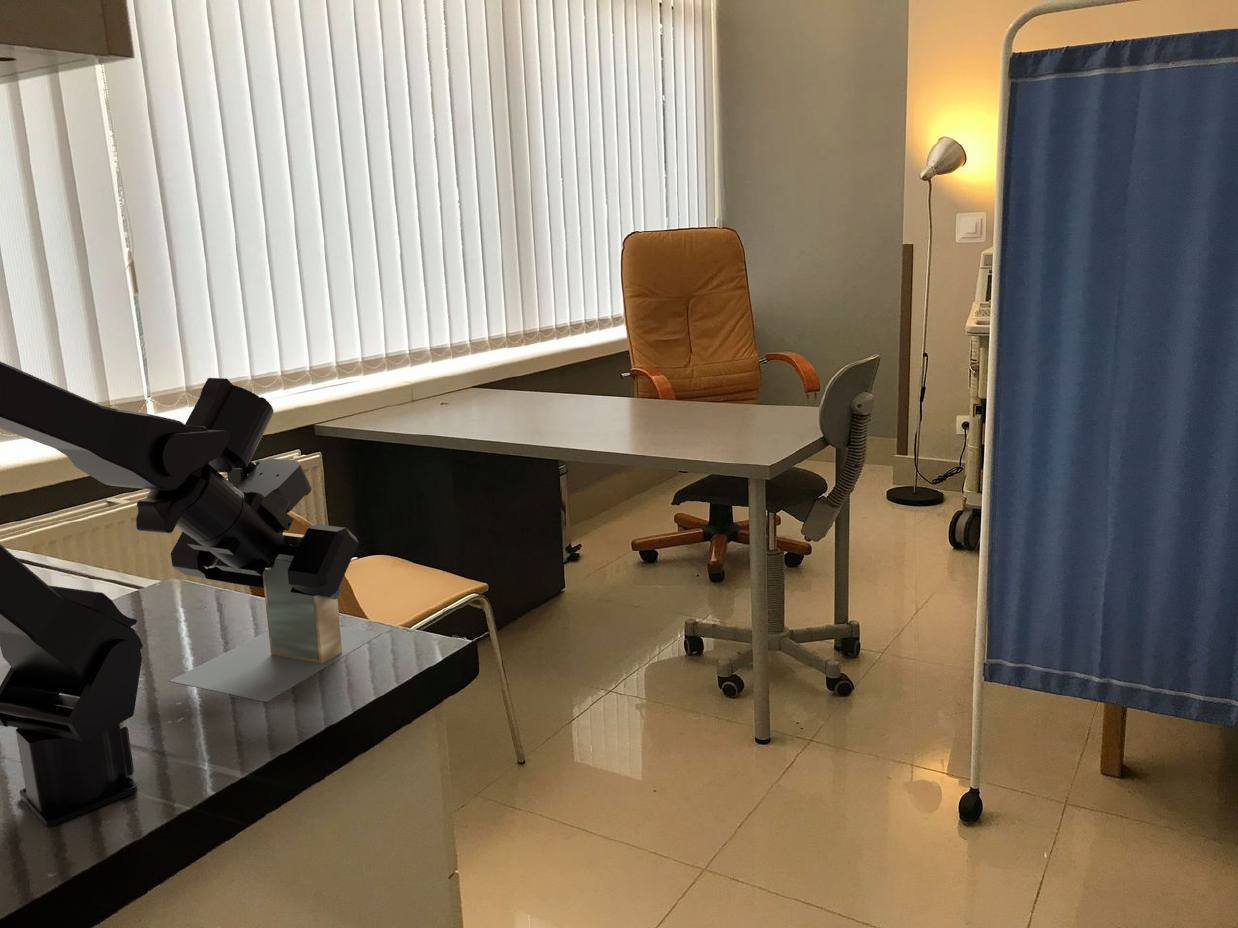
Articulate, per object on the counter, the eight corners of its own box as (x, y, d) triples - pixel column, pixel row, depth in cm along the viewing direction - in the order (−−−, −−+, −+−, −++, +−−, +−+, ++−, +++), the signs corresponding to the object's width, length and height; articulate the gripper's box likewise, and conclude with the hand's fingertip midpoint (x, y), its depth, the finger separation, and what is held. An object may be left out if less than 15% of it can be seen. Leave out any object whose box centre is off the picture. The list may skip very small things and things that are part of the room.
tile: (321, 664, 98) (310, 547, 95) (270, 654, 101) (258, 540, 98) (342, 652, 101) (332, 538, 98) (291, 643, 103) (280, 531, 101)
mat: (267, 705, 91) (266, 701, 90) (169, 684, 95) (169, 680, 95) (382, 636, 106) (382, 633, 106) (293, 621, 110) (292, 618, 110)
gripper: (336, 444, 88) (417, 529, 101) (180, 431, 96) (273, 513, 108) (282, 554, 83) (374, 631, 95) (121, 532, 91) (226, 606, 103)
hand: (310, 590), depth 101 cm, fingers closed on tile, 6 cm apart
